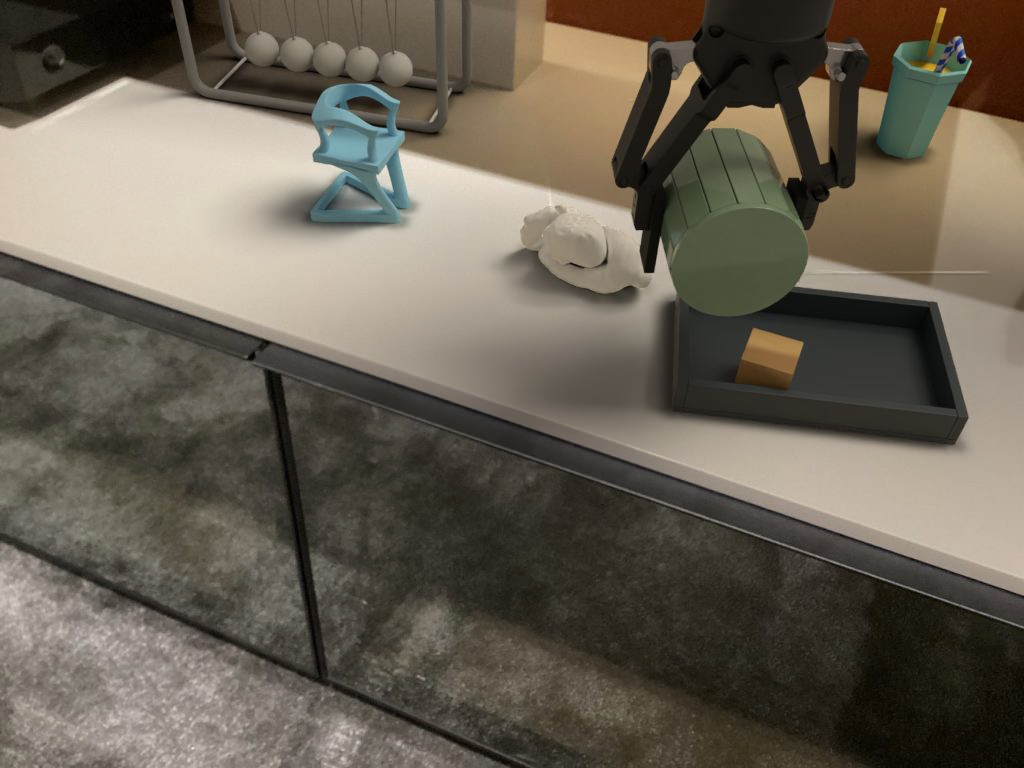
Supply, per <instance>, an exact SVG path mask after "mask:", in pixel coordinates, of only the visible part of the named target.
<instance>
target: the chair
mask: <svg viewBox="0 0 1024 768" xmlns="http://www.w3.org/2000/svg"><path fill="white" fill-rule="evenodd" d="M359 97H368V98H371V99H373V100H375V101H377V102H379V103H380V104H382V105H383V106H385V107H386V108H387V109H389V112H388V115H387V116H388V119H387V126H386V127H377V126H374V125H372V124H370V123H366V122H365V121H363V120H362V119H360V118H359V117H357V116H356V115H354V114H352V113H351V112H349V110H350V109H349V106H348V102H347V101H349V100H351V99H354V98H359ZM315 104H316V105H315V108H314V110H313V113H312V114H311V121H312V123H313V125H314V128H315V130H316V132H317V133H318V136H319V140H320V141H319V145H318V146H317V147H316V148H315V150H314V151H313V152H312V161H313V162H312V163H317V164H322V165H329V166H333V167H335V168H338V169H340V170H343V171H341V172H340V173H339V174H338V175H337V177H336V178H335V180H334V181H333V182H332V184H330V185H329V187H328V188H327V189H326V191H325V192H324V193H323V195H322V196H321V197H320V199H319V200H318V201H317V202H316V204H315V205H314V206H313V207H312V208H311V209H310V212H309V213H310V219H311V221H313V222H321V223H382V224H384V223H385V224H399V223H401V221H402V218H401V213H400V211H399V209H402V210H409V209H410V208H411V201H410V197H409V192H408V189H407V188H408V187H407V184H406V180H405V177H404V173H403V169H402V163H401V158H400V147H401V146H402V145H403V143H405V141H406V132H405V131H404V130H398V128H396V125H395V119H396V117H397V113H398V110H399V107H400V104H401V100H399V99H396V98H394V97H393V96H391V95H389V94H387V93H386V92H385V91H383V90H382V89H381V88H379V87H377V86H375V85H373V84H370V83H344V84H337V85H333V86H330V87H328V88H326V89H324V90H323V91H322V93H321V94H320V96H319V98H318V99H317V102H316V103H315ZM337 105H339V107H337ZM333 126H335V127H334V128H333V129H332V131H331V132H330V133H329V134H328V132H327V130H326V129H325V128H327V127H333ZM385 167H386V168H387V171H388V175H389V179H390V184H391V187H392V190H390V189H388V188H387V187H386V188H385V187H384V186H381V184H380V182H379V180H378V178H377V175H378V176H379V175H380V174H381V173H382V171H383V170H384V168H385ZM345 184H348V185H351V186H352V187H355V188H357V189H359V190H361V191H363V192H365V193H367V194H369V195H370V196H372V197H373V198H374V199H375V200H376V202H377V203H378V204H379V206H380V207H381V208H366V209H365V208H363V209H361V208H359V209H327V208H328V206H329V204H330V203H331V202H332V200H333V199H334V198H335V197H336V195H337V194H338V193H339V191H340V190H341V189H342V188H343V186H344V185H345ZM398 208H399V209H398Z"/></svg>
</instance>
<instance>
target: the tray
mask: <svg viewBox="0 0 1024 768" xmlns="http://www.w3.org/2000/svg"><path fill="white" fill-rule="evenodd" d="M673 319H674V323H673V325H674V326H673V353H672V354H673V355H672V356H673V357H672V359H673V360H672V365H673V366H672V389H671V390H672V393H671V411H673V412H680V413H688V414H697V415H706V416H713V417H722V418H732V419H738V420H748V421H755V422H764V423H772V424H780V425H788V426H798V427H805V428H812V429H813V428H814V429H823V430H831V431H837V432H838V431H839V432H847V433H856V434H864V435H872V436H881V437H889V438H897V439H906V440H915V441H923V442H931V443H939V444H947V445H956V443H957V441H958V439H959V437H960V435H961V434H962V432H963V430H964V428H965V426H966V425H967V422H968V420H969V419H970V416H969V413H968V409H967V405H966V402H965V398H964V394H963V391H962V388H961V387H962V386H961V384H960V380H959V377H958V373H957V369H956V366H955V365H956V364H955V361H954V358H953V354H952V351H951V347H950V344H949V340H948V335H947V333H946V329H945V325H944V322H943V318H942V315H941V311H940V307H939V304H938V302H937V301H933V300H932V301H931V300H923V299H922V300H921V299H913V298H903V297H896V296H885V295H875V294H868V293H859V292H858V293H857V292H849V291H838V290H829V289H822V288H821V289H820V288H811V287H803V286H794V287H793V288H792V289H791V291H790V292H788V293H787V294H786V295H785V296H784V297H783V298H781V299H780V300H778V301H777V302H775V303H774V304H772V305H770V306H768V307H766V308H764V309H762V310H759V311H756V312H753V313H749V314H745V315H740V316H728V317H727V316H715V315H710V314H706V313H703V312H700V311H698V310H696V309H694V308H692V307H691V306H689V305H688V304H687V303H686V302H684V301H683V300H682V298H681V297H680V296H679V295H678V293H677V292H676V295H675V300H674V318H673ZM753 328H756V329H759V330H763V331H766V332H770V333H773V334H776V335H780V336H783V337H787V338H790V339H794V340H797V341H801V342H804V344H803V347H802V350H801V353H800V356H799V359H798V362H797V365H796V368H795V371H794V374H793V377H792V380H791V383H790V386H789V389H788V390H787V389H779V388H770V387H761V386H753V385H744V384H736V383H735V379H736V376H737V372H738V368H739V365H740V361H741V358H742V355H743V353H744V350H745V348H746V345H747V342H748V340H749V337H750V335H751V332H752V330H753Z"/></svg>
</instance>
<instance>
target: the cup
mask: <svg viewBox="0 0 1024 768" xmlns="http://www.w3.org/2000/svg"><path fill="white" fill-rule="evenodd" d="M946 12H947V8H946V7H940V8H939V11H938V15H937V18H936V21H935V25H934V29H933V32H932V36H931V38H930V40H918V41H907V42H902V43H900V44H899V45H898V47H897V49H896V51H895V52H894V54H893V56H892V62H891V65H892V66H893V69H892V72H891V78H890V81H889V86H888V90H887V94H886V99H885V104H884V106H883V112H882V116H881V121H880V125H879V129H878V132H877V133H878V134H877V138H876V142H875V144H876V145H877V146H878V147H879V148H880V149H881V151H883V152H884V153H885V154H887V155H890V156H894V157H897V158H901V159H905V160H909V159H916V158H922V159H923V157H925V153H926V151H927V150H928V147H929V145H930V144H931V141H932V139H933V137H934V135H935V133H936V131H937V129H938V127H939V125H940V122H941V120H942V118H943V117H944V115H945V113H946V110H947V108H948V106H949V104H950V102H951V100H952V98H953V95H954V94H955V92H956V90H957V88H958V85H959V84H960V83H963V81H964V79H965V77H966V75H967V73H968V72H969V69H970V67H971V66H972V65H971V64H972V63H973V61H972V59H971V58H970V57H968V56H967V55H966V51H965V47H964V42H963V37H961V36H960V35H958V36H954V37H952V38H950V40H949V41H948V43H947V44H944V43H939V42H938V39H939V35H940V32H941V29H942V26H943V23H944V19H945V15H946Z"/></svg>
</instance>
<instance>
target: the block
mask: <svg viewBox="0 0 1024 768" xmlns="http://www.w3.org/2000/svg"><path fill="white" fill-rule="evenodd" d="M803 344H804V342H801V341H797V340H794V339H790V338H787V337H783V336H780V335H776V334H773V333H770V332H766V331H763V330H759V329H756V328H753V330H752V332H751V335H750V337H749V340H748V342H747V345H746V348H745V350H744V353H743V355H742V358H741V361H740V365H739V368H738V372H737V376H736V379H735V383H736V384H744V385H753V386H761V387H770V388H779V389H787V390H788V389H789V386H790V383H791V380H792V377H793V374H794V371H795V368H796V365H797V362H798V359H799V356H800V353H801V350H802V347H803Z"/></svg>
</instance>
